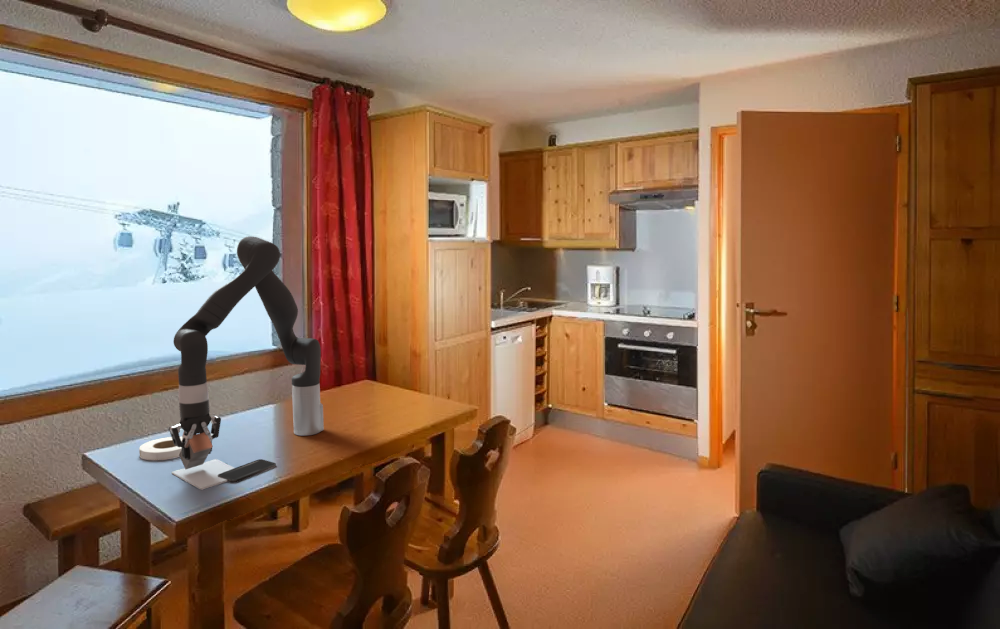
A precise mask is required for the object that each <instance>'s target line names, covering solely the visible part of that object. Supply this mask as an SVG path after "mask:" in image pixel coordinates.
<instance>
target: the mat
mask: <svg viewBox="0 0 1000 629" xmlns="http://www.w3.org/2000/svg"><path fill="white" fill-rule="evenodd" d="M234 468H235V467H234V466H232V465H230V464H227V463H225V462H224V461H221V460H219V459H218V458H214V459H212V460H207V461H205V462H204V463H203V464H202V465H199V466H196V467H192V468H189V469H186V470H185V467H183V468H181V469H177V470H173V471H171V475H174V476H175V477H177V478H179V479H181V480H183V481H184V482H186V483H187V484H190V485H192V486H194V487H195V488H197V489H199V490H200V491H202V490H205V489H208V488H211V487H215V486H218V485H221V484H224V483H228V482H227V479H223V478H220V477H218V474H221V473H223V472H226V471H229V470H231V469H234Z"/></svg>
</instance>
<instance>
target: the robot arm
mask: <svg viewBox="0 0 1000 629" xmlns="http://www.w3.org/2000/svg"><path fill="white" fill-rule="evenodd" d="M236 254H237V258H238V260H239V263H240V264H241V266H242V267H243V269H244V270H243V271H242V272H241V273H240V274H239V275H238V276H236V277H235V278H234V279H232V280H230V281H229V282H227V283H225V284H224V285H222V286H220V287H219V288H217V289H216V290H215V291H214V292H212V294H210V295H209V296H208V298H207V299H206V300H205V301H204V303H203V304H202V305H201V306H200V308H199V309H198V310H197V312H196V313H195V314H194V315H193V316H191V317H190V318H189V319H188V320H186V322H185V323H183V325H182V326H180V328H179V329H177V331H176V333H175V334H174V336H173V346H174V347H175V349H176V350H178V351H179V352H180V362H181V363H180V364H179V365H178V371H177V375H178V403H179V406H178V407H179V418H180V420H179V423H178V424H176V425H174V426H173V425H170V426H169V427H168V430H169V435H170V437H172V440H173V443H174V445H175V446H177V447H181V448H182V457H183V458H185V459H186V460H190V447H188V446H189V440H191V439H192V437H193V435H196V434H200V433H203V432H204V433H205V434H206V436H207V435H208V437H209V439H210V441H211V443H212V444H213V440H214V439H217V438H218V437H219V434H220V429H221V422H222V417H219V416H218V415H214V416H211V415H210V413H211V412H210V398H209V396H210V395H209V387H208V382H207V381H208V380H207V369H206V367H207V366H206V365H207V361H208V352H209V351H208V349H209V348H208V347H209V346H208V345H209V344H208V340H207V335H208V334H209V333H210V332H212V330H215V329H217V328H219V327H220V326H221V324H223V322H224V321H225V319H226V318H228V316H229V314H231V312H232V311H233V309H234V308H235V307H236V306H237V305H238V304H239V303H240V302H241V300H242V299H243V298H244V297H245V296H246V295H247V294H248V293H250V292H251V291H252V290H253V289H254V288H255V289H256V292H257V295H258V296H259V299H260V300H261V303H262V305H263V307H264V310H265V311H266V313H267V315H268V317H269V319H270V321H271V322H272V326H273V327H274V330H275V331H276V332H275V333H276V334H277V336H278V339H279V342H280V345H281V348H282V351H283V353H284V356H285V358H286V360H287V362H288V363H290V364H292V365H297V366H299V365H300V366H301V365H302V366H305V367H304V371H302V372H300V373H297V374H294V375H293V376H292V377H291V393H292V394H291V397H292V419H293V423H292V424H293V434H294V435H296V436H302V437H303V436H312V435H317V434H319V433H320V432H322V431H324V430H325V428H324V426H325V425H324V405H323V403H322V402H321V388H320V386H321V384H320V379H321V354H322V353H321V352H322V351H321V344H320V342H319V340H318V339H316V338H310V337H297V335H296V334H295V332H294V326H295V323H296V321H297V318H298V314H299V308H298V306H297V303H296V300H295V298H294V296H293V294H292V292H291V290H290V289H289V288H288V287H287V285H285V283H284V282H283V281H282V280H281V279H280V278H279V277H278V276H277V274H276V273H275V272H274V268H276V266H277V265H278V263H279V262H280V259H281V252H280V249H279V247H278V246H277V245H276V244H275V243H273V242H272V241H271V242H270V241H268V240H265V239H264V238H263V239H262V238H260V237H257V236H252V235H251V236H250V235H249V236H245V237H242V239H240V241H239V242H238V244H237V246H236ZM210 424H211V429H210V430H209V428H208V426H209V425H210ZM181 429H182V430H183V432H182V435H181V436H182V441H181V439H180V437H181V436H180V431H181ZM212 451H213V448H212V449H211V450H210V452H209V454H208V455H210V454H212Z"/></svg>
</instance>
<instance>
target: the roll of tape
mask: <svg viewBox="0 0 1000 629" xmlns="http://www.w3.org/2000/svg"><path fill="white" fill-rule="evenodd" d="M180 439H181V441H182V435H181V436H180ZM181 450H182V448H181V447H177V446H175V445H174V443H173V440H172V437H171V436H168V437H167V436H166V437H162V438H157V439H152V440H149V441H146V442H145V443H142V444H141V445H140V446H139V448H138V452H139V457H140V459H142V460H147V461H164V460H165V461H166V460H171V459H177V458H180V456H179V454H180V452H181Z"/></svg>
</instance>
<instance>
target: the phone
mask: <svg viewBox="0 0 1000 629" xmlns="http://www.w3.org/2000/svg"><path fill="white" fill-rule="evenodd" d="M276 467H277V463H276V462H273V461H270V460H266V459H263V458H262V459H261V458H260V459H255V460H253V461H250V462H248V463H245V464H242V465H239V466H237V467H234V469H231V470H229V471H226V472H223V473H221V474H218V477H220V478H223V479H227V482H226V483H231V484H236V483H239V482H241V481H243V480H246V479H249V478H251V477H254V476H257V475H259V474H261V473H264V472H266V471H269V470H271V469H273V468H276Z"/></svg>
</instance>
